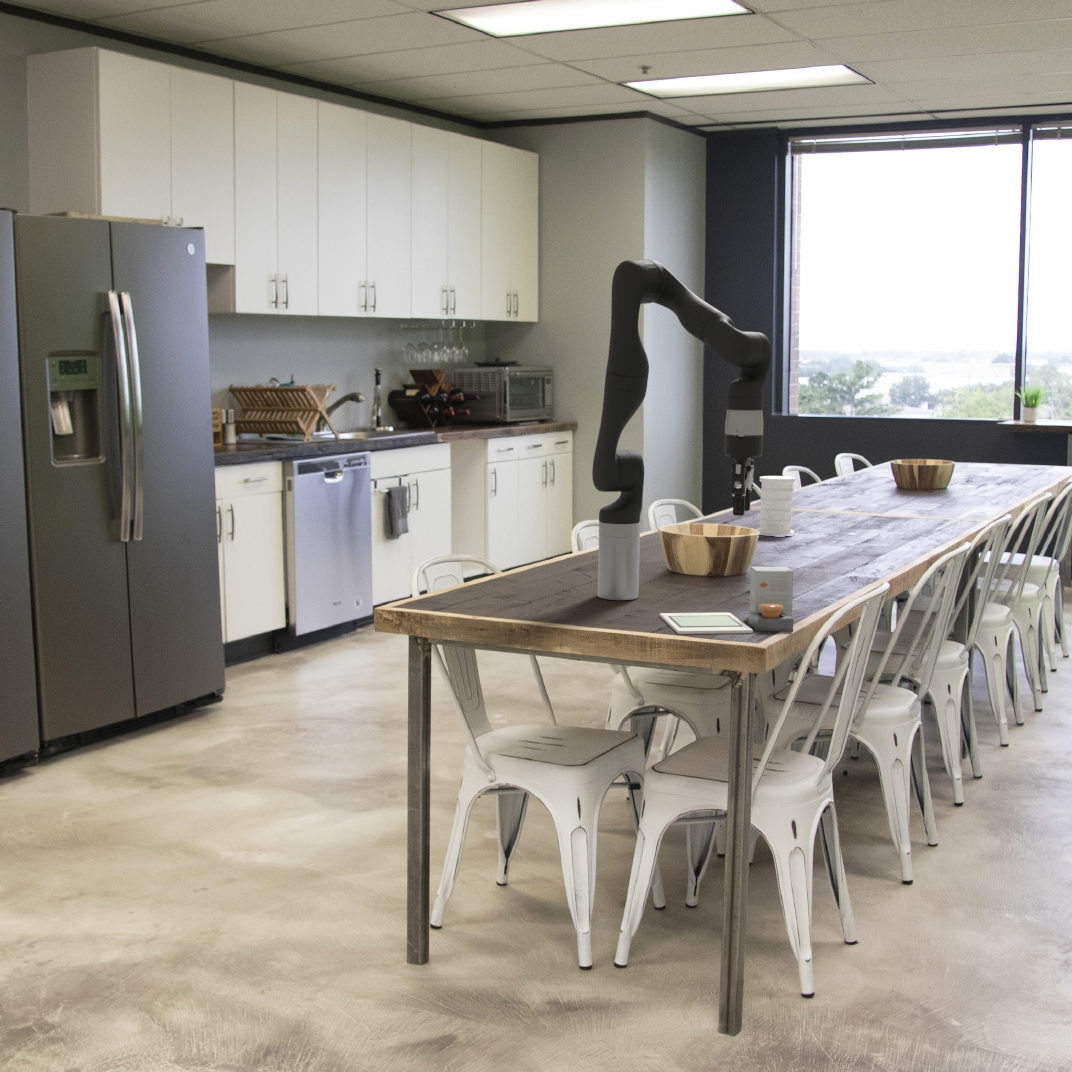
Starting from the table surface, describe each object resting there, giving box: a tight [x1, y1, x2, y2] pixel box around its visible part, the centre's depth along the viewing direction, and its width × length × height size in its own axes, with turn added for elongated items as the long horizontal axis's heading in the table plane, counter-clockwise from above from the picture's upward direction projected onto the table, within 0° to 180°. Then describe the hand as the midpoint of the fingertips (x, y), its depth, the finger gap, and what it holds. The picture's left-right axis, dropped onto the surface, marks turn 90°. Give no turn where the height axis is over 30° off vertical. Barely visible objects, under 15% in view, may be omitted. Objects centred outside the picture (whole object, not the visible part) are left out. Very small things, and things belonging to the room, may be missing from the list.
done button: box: [759, 603, 783, 618], centre depth 256 cm, size 5×5×3 cm
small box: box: [749, 566, 794, 618], centre depth 266 cm, size 8×6×10 cm
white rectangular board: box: [659, 612, 754, 635], centre depth 259 cm, size 18×15×1 cm
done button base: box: [747, 611, 794, 632], centre depth 257 cm, size 7×7×2 cm
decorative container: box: [757, 475, 796, 535], centre depth 396 cm, size 12×12×18 cm
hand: (741, 513), depth 257 cm, fingers open, 8 cm apart
